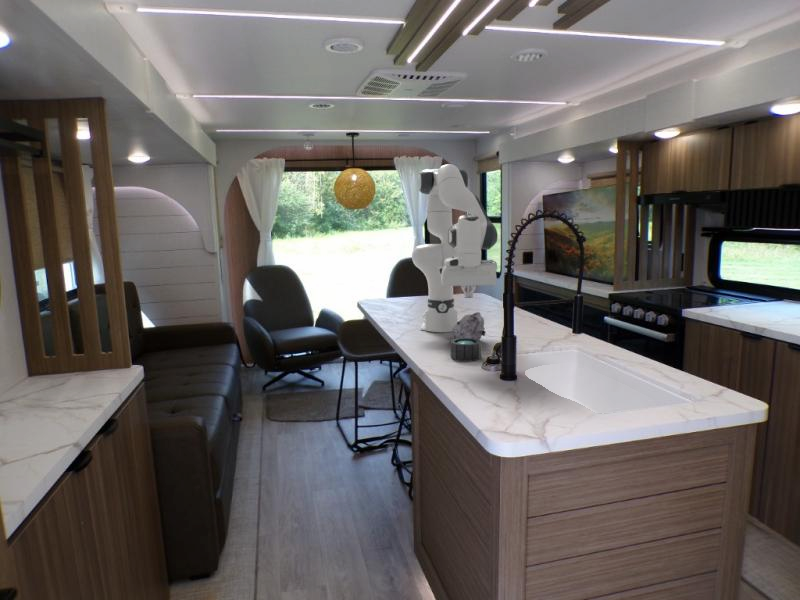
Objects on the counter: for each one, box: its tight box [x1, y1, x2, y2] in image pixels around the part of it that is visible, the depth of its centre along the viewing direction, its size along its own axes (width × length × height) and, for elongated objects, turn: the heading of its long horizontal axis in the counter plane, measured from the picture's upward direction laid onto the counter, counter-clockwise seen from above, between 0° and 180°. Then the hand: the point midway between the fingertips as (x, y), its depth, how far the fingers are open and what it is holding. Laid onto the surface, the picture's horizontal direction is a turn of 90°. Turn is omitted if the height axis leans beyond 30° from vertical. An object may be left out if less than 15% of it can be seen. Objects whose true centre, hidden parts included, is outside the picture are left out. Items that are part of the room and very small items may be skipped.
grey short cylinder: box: [449, 338, 482, 362], centre depth 197 cm, size 11×11×6 cm
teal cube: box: [457, 341, 474, 344], centre depth 197 cm, size 6×6×5 cm
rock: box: [451, 311, 487, 341], centre depth 219 cm, size 22×10×15 cm, turn 9°
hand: (468, 297), depth 198 cm, fingers closed
